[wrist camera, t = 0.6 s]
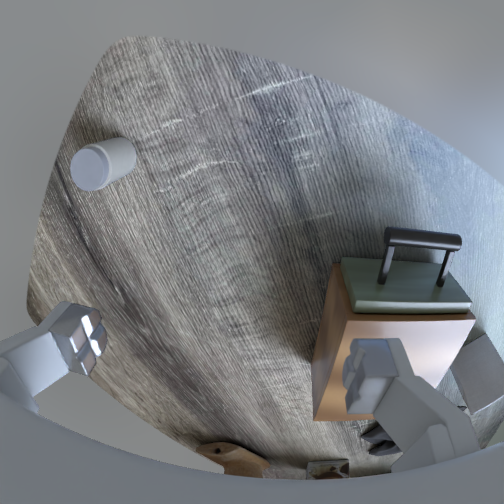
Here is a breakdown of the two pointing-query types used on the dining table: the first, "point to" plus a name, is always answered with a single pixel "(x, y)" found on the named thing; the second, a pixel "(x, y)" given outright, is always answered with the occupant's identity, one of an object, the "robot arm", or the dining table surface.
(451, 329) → the cabinet
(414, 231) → the drawer
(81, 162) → the salt shaker
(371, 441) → the cloth
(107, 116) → the dining table surface
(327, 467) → the coffee box
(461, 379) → the light grey paper bag
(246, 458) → the tan clay pipe bowl
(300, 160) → the dining table surface
